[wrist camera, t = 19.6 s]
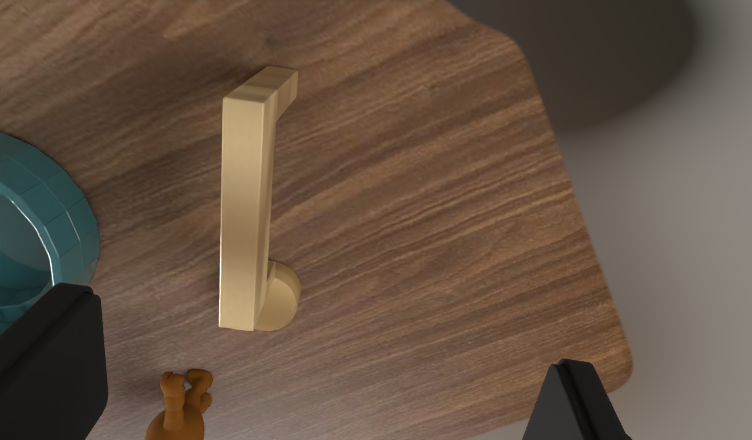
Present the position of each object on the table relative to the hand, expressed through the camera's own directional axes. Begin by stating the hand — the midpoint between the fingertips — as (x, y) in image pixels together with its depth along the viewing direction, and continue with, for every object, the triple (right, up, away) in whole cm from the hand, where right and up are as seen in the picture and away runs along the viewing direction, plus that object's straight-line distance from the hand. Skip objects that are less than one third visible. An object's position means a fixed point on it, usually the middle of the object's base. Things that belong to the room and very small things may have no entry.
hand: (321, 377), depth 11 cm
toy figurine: (-12, -9, +30) cm, 34 cm away
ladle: (-5, +4, +24) cm, 25 cm away
